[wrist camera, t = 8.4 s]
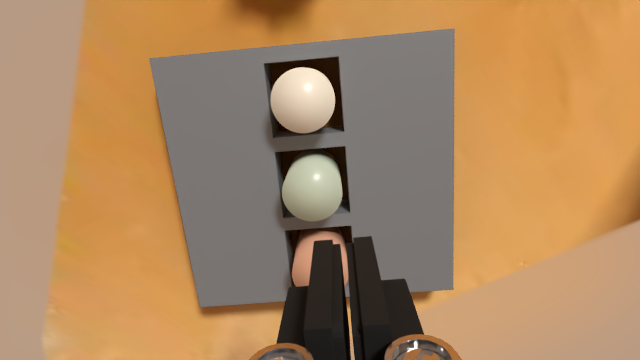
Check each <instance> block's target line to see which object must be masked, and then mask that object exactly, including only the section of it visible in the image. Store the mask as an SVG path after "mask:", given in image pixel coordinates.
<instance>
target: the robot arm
mask: <svg viewBox="0 0 640 360" xmlns="http://www.w3.org/2000/svg"><path fill="white" fill-rule="evenodd" d="M346 249H347V264H348V279H349V294H350V309H351V324H352V335H353V346H354V355H355V360H462V359H461V358H460V356H459V355H458V353H457V352H456V351H455V350H454V349H453V348H452V347H451V346H450V345H449V344H448V343H446V342H444V341H443V340H441V339H438V338H435V337H433V336H429V335H424V333H423V330H422V327H421V324H420V321H419V318H418V315H417V312H416V309H415V306H414V303H413V300H412V297H411V294H410V291H409V288H408V285H407V282H406V280H405V279H391V280H381V276H380V272H379V267H378V263H377V258H376V254H375V249H374V245H373V240H372V236H367V237H355V238H353V243H346ZM249 360H351V356H350V337H349V324H348V314H347V304H346V295H345V285H344V275H343V265H342V255H341V246H340V244H333V239H331V240H319V241H314V245H313V253H312V261H311V270H310V278H309V286H298V287H289V288H288V292H287V296H286V301H285V306H284V311H283V315H282V320H281V325H280V330H279V334H278V339H277V344H275V345H271V346H268V347H266V348H264V349H262V350H260V351H258V352H257V353H256V354H255V355H253V356H252V357H251V358H250V359H249Z"/></svg>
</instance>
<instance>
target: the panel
mask: <svg viewBox="0 0 640 360" xmlns="http://www.w3.org/2000/svg"><path fill="white" fill-rule="evenodd" d="M329 58H338V70H339V83H340V96H341V110H342V123H343V126H334V127H323V128H320V129H318V130H316V131H314V132H310V133H297V132H293V131H290V130H289V131H278V127H277V119H276V117H275V116H274V114H273V111H272V108H271V100H270V99H271V92H272V89H273V86H272V78H271V69H270V64H276V63H287V62H297V61H308V60H318V59H329ZM149 60H150V64H151V69H152V74H153V79H154V84H155V89H156V94H157V99H158V104H159V109H160V114H161V118H162V123H163V128H164V133H165V138H166V143H167V148H168V153H169V158H170V163H171V168H172V172H173V177H174V182H175V187H176V192H177V197H178V202H179V207H180V212H181V217H182V222H183V227H184V231H185V236H186V241H187V246H188V251H189V256H190V261H191V266H192V271H193V276H194V281H195V285H196V290H197V295H198V300H199V305H200V307H211V306H226V305H240V304H254V303H268V302H282V301H286V296H287V292H288V288H289V287H296V286H295V284H294V281H293V278H292V268H293V263H294V258H293V250H292V242H291V234H290V230H300V229H313V228H325V227H338V226H350V230H351V243H353V238H355V237H367V236H372V240H373V245H374V249H375V254H376V258H377V263H378V267H379V272H380V276H381V280H391V279H405V280H406V282H407V285H408V288H409V291H410V292H424V291H438V290H452V289H453V226H454V29H445V30H435V31H425V32H415V33H405V34H394V35H384V36H374V37H364V38H353V39H343V40H333V41H323V42H313V43H302V44H292V45H282V46H272V47H262V48H251V49H241V50H231V51H221V52H210V53H200V54H190V55H180V56H170V57H159V58H149ZM340 146H344V150H345V163H346V177H347V190H348V200H341V203H340V205H339V207H338V209H337V210H336V211H335V212H334V213H333V214H332V215H331V216H329V217H328V218H326V219H323V220H320V221H305V220H302V219H299V218H297V217H296V216H294V215H293V214H292V213H291V212H290V211H289V210H288V209H287V207H286V206H285V204H284V201H283V198H282V187H283V183H284V176H283V168H282V160H281V152H282V151H294V150H305V149H317V148H328V147H340ZM345 295H346V297H350V294H349V279H348V282H347V284H346V286H345Z"/></svg>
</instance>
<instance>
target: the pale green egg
mask: <svg viewBox="0 0 640 360" xmlns="http://www.w3.org/2000/svg"><path fill="white" fill-rule="evenodd" d="M282 198H283V201H284V204H285V206H286V207H287V209H288V210H289V211H290V212H291V213H292V214H293V215H294V216H296V217H297V218H299V219H302V220H305V221H320V220H323V219H326V218H328V217H329V216H331V215H332V214H333V213H334V212H335V211H336V210H337V209H338V207H339V205H340V203H341V200H342V184H341V176H340V169H339V165H338V163H337V161H336V159H335V158H334V157H333V156H332V155H331V154H330V153H328V152H326V151H324V150H321V149H307V150H304V151H302V152H301V153H299V154H298V155H297V156H296V157H295V158H294V159H293V161H292V162H291V165H290V167H289V170H288V173H287V175H286V178H285V181H284V183H283V187H282Z"/></svg>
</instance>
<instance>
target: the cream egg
mask: <svg viewBox="0 0 640 360" xmlns="http://www.w3.org/2000/svg"><path fill="white" fill-rule="evenodd" d="M270 100H271V108H272V111H273V114H274V116H275V117H276V119H277V120H278V122H279V123H280V124H281V125H282V126H284V127H285V128H286V129H288V130H290V131H293V132H297V133H310V132H314V131H316V130H318V129H320V128H322V127H323V126H324V125H325V124H326V123H327V122H328V121H329V119H330V118H331V116H332V114H333V111H334V107H335V94H334V90H333V87H332V85H331V83H330V81H329V79H328V78H327V77H326V76H325V75H324V74H323V73H322V72H320V71H318V70H316V69H312V68H305V67H299V68H294V69H291V70H289V71H287V72H285V73H284V74H282V75H281V76H280V77H279V78H278V79H277V81H276V82H275V84H274V86H273V89H272V92H271V99H270Z"/></svg>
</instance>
